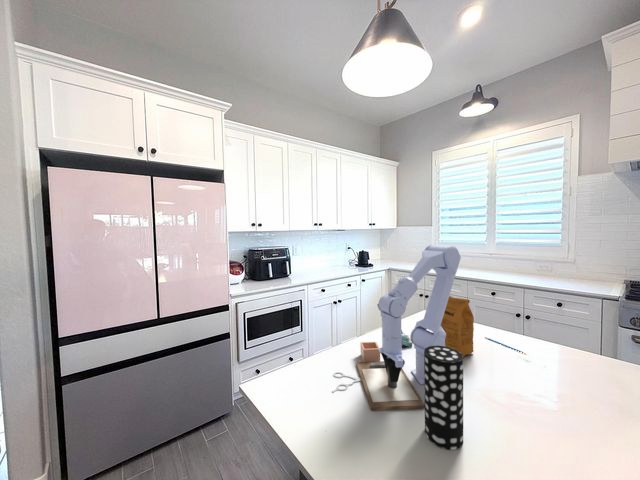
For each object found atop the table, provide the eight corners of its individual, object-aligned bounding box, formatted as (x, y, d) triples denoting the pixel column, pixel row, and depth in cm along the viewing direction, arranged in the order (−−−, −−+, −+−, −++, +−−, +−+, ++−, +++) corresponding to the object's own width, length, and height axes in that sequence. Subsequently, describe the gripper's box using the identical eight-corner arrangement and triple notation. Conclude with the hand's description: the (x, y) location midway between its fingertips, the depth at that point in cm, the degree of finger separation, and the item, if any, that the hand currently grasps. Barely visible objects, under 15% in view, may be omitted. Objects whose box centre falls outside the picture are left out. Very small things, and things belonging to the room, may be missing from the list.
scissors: (328, 372, 91) (384, 368, 92) (328, 374, 91) (385, 370, 92) (332, 391, 80) (396, 386, 82) (332, 394, 80) (396, 389, 82)
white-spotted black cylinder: (418, 423, 66) (418, 346, 66) (450, 421, 67) (449, 344, 66) (435, 451, 58) (435, 363, 57) (471, 448, 59) (471, 361, 58)
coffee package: (451, 341, 113) (451, 291, 112) (477, 354, 101) (477, 298, 100) (433, 345, 109) (433, 293, 108) (458, 359, 98) (457, 301, 97)
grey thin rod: (485, 338, 116) (486, 336, 116) (528, 355, 100) (528, 353, 100) (484, 338, 115) (484, 337, 115) (527, 356, 99) (527, 354, 99)
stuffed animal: (418, 328, 114) (408, 332, 105) (417, 345, 113) (407, 351, 104) (394, 323, 121) (383, 326, 112) (393, 339, 120) (382, 344, 111)
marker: (395, 382, 82) (395, 354, 82) (398, 388, 79) (398, 359, 79) (386, 383, 82) (385, 354, 82) (388, 388, 79) (388, 359, 79)
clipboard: (397, 363, 96) (397, 358, 96) (425, 408, 72) (425, 401, 72) (356, 365, 96) (356, 359, 95) (371, 410, 72) (371, 403, 71)
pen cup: (376, 354, 103) (376, 341, 103) (380, 362, 97) (380, 348, 97) (360, 354, 103) (360, 342, 103) (363, 362, 97) (363, 349, 97)
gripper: (373, 326, 87) (373, 366, 88) (385, 345, 73) (386, 393, 73) (394, 325, 87) (394, 365, 88) (410, 344, 73) (411, 392, 73)
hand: (392, 378), depth 81 cm, fingers closed on marker, 3 cm apart
